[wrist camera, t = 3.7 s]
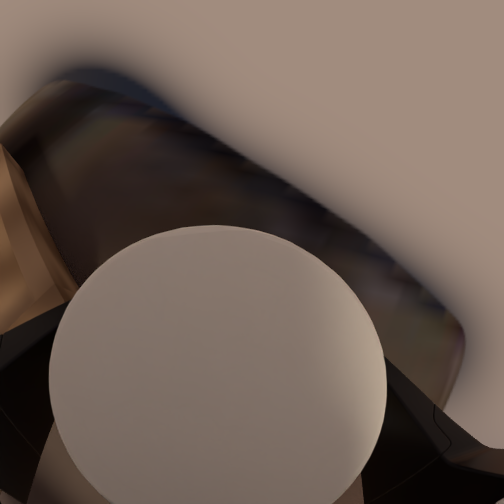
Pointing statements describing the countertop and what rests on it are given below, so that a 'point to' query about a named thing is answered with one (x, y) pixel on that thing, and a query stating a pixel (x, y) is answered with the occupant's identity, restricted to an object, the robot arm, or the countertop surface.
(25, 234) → the box
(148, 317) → the supplement bottle
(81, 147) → the countertop surface
